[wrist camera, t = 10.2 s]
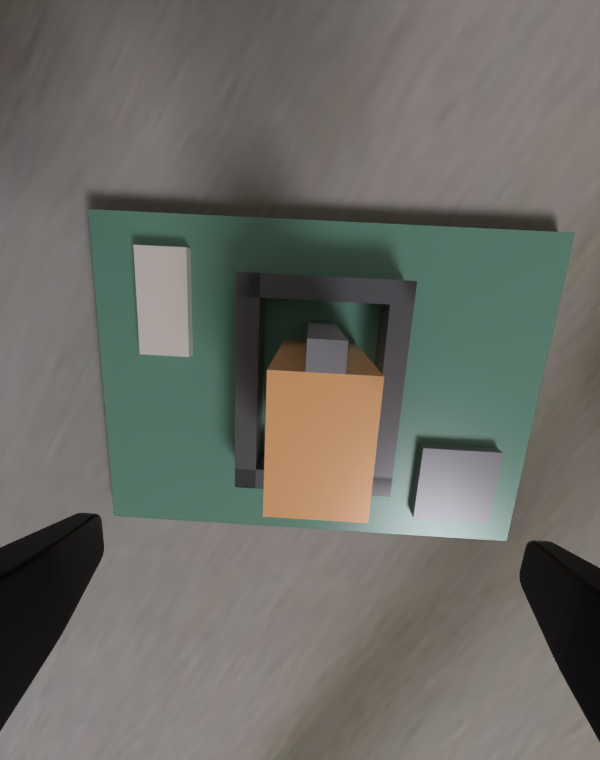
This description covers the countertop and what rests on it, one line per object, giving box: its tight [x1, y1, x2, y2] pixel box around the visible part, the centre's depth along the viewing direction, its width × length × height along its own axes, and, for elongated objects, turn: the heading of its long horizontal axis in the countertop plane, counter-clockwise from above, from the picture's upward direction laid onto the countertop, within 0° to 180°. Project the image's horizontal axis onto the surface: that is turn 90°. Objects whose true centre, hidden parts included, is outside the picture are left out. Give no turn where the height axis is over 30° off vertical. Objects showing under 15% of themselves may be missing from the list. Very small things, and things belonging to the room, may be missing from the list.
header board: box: [88, 209, 575, 541], centre depth 17 cm, size 22×16×3 cm
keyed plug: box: [263, 320, 384, 523], centre depth 14 cm, size 4×6×7 cm, turn 177°
